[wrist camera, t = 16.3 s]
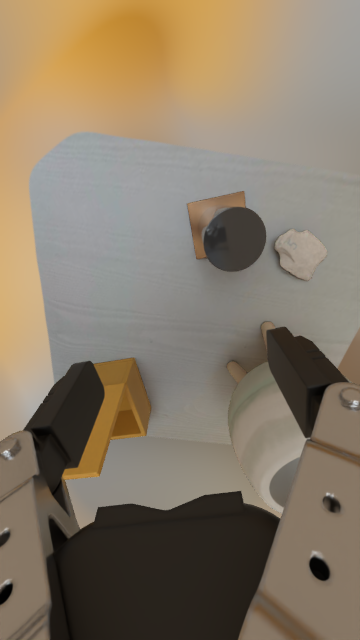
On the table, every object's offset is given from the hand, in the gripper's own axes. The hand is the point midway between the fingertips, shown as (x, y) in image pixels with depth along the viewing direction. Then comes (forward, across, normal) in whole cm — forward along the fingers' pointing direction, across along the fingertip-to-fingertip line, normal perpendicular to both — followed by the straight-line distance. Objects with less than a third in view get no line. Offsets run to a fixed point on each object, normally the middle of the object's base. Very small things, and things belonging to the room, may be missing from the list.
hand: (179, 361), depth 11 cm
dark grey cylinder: (+26, -6, -2) cm, 27 cm away
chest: (+27, +19, +23) cm, 41 cm away
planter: (+27, -10, +21) cm, 36 cm away
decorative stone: (+27, -16, +4) cm, 32 cm away
